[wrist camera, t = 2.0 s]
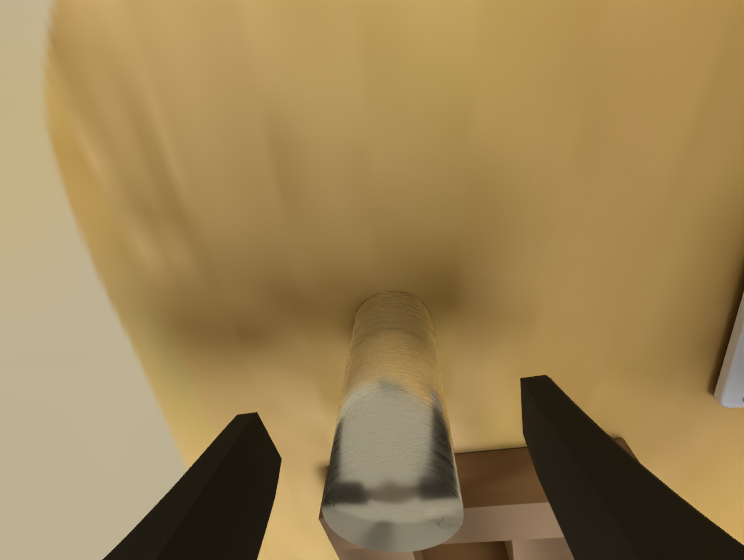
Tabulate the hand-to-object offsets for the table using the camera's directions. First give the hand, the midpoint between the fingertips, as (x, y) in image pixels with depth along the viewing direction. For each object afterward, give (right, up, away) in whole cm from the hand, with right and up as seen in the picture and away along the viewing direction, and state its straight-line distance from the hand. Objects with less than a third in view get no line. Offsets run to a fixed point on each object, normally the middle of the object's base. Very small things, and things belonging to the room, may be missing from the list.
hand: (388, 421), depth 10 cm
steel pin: (0, +2, +4) cm, 5 cm away
